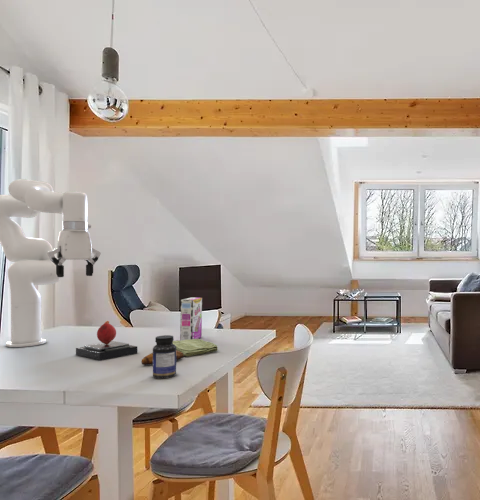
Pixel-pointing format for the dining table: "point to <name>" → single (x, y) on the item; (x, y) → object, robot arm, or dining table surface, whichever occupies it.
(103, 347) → the scale pan
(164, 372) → the pill bottle
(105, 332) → the onion
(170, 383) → the dining table surface
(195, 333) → the candy bar box
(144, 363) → the croissant
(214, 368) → the dining table surface
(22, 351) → the dining table surface
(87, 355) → the scale
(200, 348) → the washcloth
